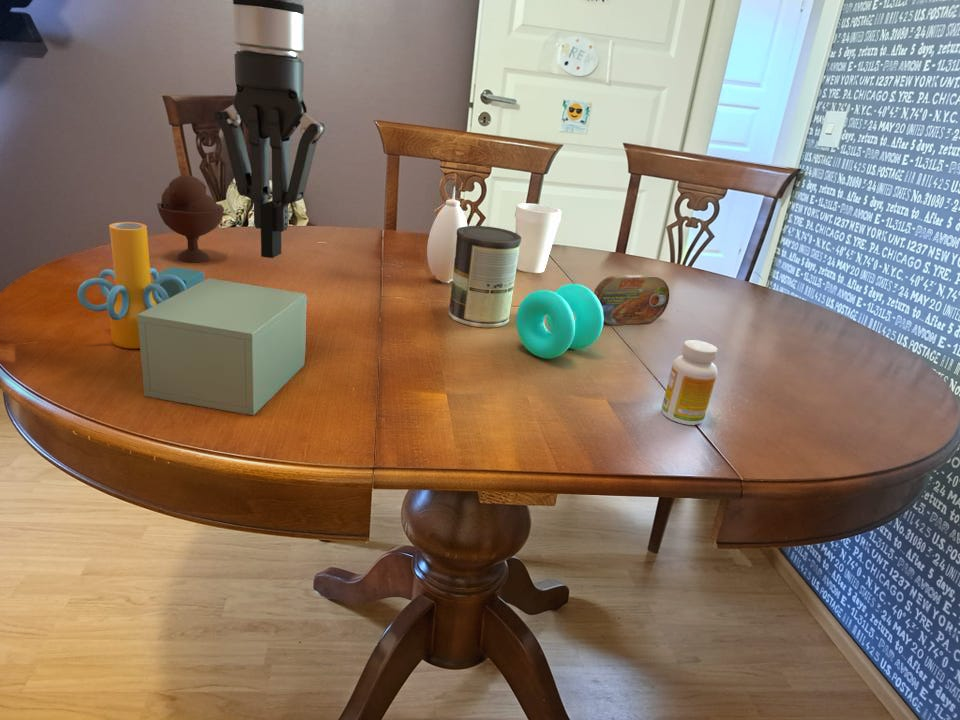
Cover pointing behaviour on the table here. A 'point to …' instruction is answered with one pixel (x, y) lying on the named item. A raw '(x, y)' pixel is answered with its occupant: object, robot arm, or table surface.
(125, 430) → the table surface
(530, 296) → the donuts
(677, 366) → the supplement bottle
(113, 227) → the cylinder
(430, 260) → the sauce bottle
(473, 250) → the coffee can
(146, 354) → the green box
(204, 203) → the ice cream bowl
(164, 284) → the teal cube
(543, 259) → the foam cup
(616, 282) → the tin
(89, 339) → the table surface
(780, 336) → the table surface
